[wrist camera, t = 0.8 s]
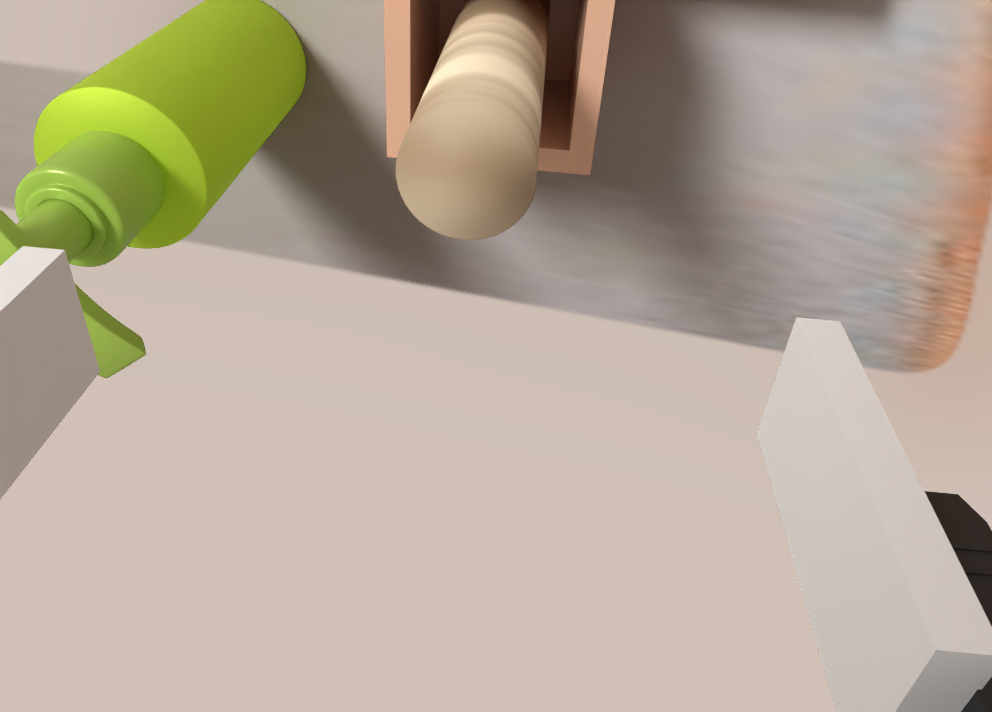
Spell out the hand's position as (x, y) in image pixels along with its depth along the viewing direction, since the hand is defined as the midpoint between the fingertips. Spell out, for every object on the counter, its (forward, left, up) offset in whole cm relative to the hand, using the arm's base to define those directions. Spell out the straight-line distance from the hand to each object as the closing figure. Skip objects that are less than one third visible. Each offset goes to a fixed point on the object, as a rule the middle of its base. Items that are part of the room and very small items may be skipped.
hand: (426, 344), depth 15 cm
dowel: (0, 0, -25) cm, 25 cm away
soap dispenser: (+4, -12, -26) cm, 29 cm away
